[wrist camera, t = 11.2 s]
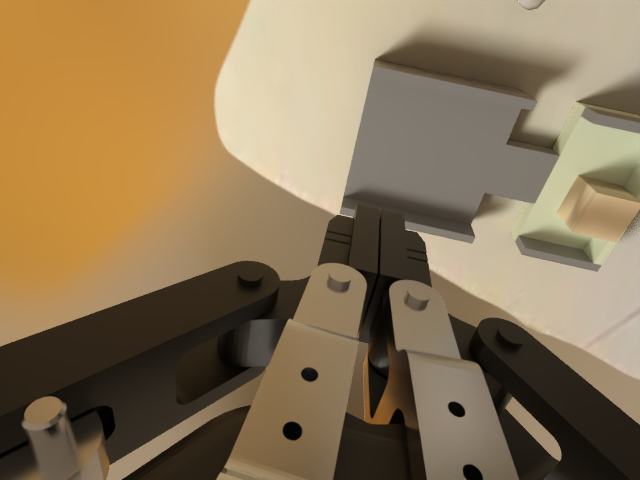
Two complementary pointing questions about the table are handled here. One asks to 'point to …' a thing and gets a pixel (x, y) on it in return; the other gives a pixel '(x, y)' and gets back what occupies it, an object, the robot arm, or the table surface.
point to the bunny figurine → (530, 4)
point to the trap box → (483, 160)
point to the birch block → (598, 208)
